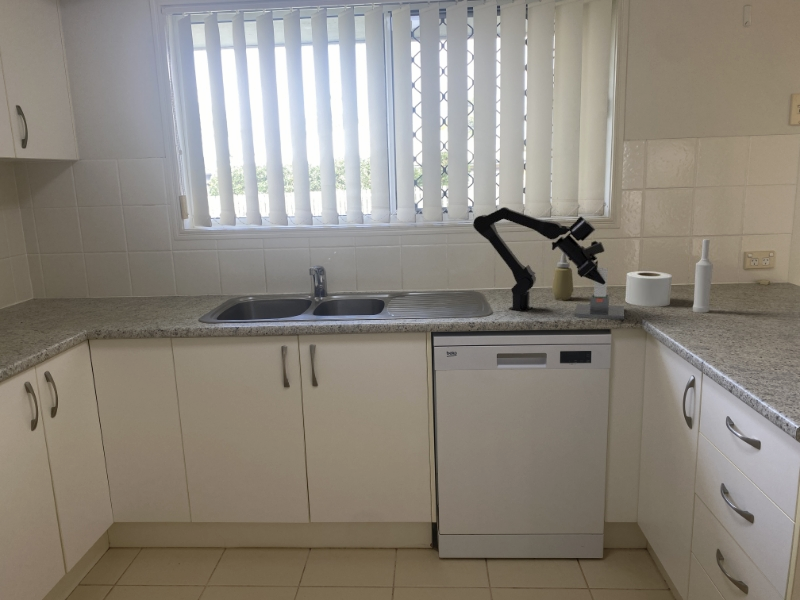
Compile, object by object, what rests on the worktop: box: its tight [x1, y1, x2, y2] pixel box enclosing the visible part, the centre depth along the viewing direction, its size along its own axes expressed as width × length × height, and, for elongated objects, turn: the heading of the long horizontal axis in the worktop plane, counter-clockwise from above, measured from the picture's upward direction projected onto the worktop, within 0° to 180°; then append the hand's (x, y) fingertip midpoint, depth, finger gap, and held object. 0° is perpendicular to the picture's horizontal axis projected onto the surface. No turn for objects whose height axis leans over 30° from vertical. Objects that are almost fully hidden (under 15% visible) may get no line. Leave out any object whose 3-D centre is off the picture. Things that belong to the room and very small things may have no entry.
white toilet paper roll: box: [625, 270, 673, 308], centre depth 217 cm, size 16×15×11 cm
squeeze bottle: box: [551, 252, 574, 301], centre depth 226 cm, size 8×8×18 cm
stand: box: [573, 293, 625, 320], centre depth 202 cm, size 16×16×6 cm
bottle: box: [692, 238, 714, 314], centre depth 199 cm, size 5×5×25 cm
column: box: [593, 267, 608, 298], centre depth 201 cm, size 4×4×11 cm
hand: (604, 282), depth 200 cm, fingers closed on column, 4 cm apart
